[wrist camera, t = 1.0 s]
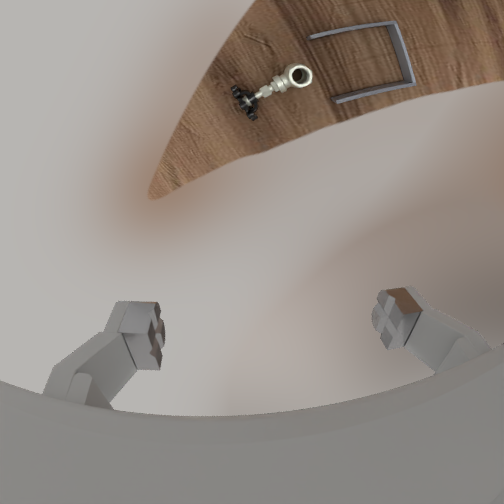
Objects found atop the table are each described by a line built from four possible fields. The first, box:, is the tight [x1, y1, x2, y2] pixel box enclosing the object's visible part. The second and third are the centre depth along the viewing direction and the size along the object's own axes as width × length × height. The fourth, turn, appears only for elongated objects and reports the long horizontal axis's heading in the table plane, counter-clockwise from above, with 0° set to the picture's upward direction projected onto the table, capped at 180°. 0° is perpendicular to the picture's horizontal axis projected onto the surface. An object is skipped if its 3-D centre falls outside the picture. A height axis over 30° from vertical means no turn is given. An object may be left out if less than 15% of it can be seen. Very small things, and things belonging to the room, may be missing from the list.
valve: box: [231, 63, 312, 121], centre depth 36 cm, size 7×7×12 cm
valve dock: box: [306, 21, 416, 104], centre depth 33 cm, size 16×12×3 cm
